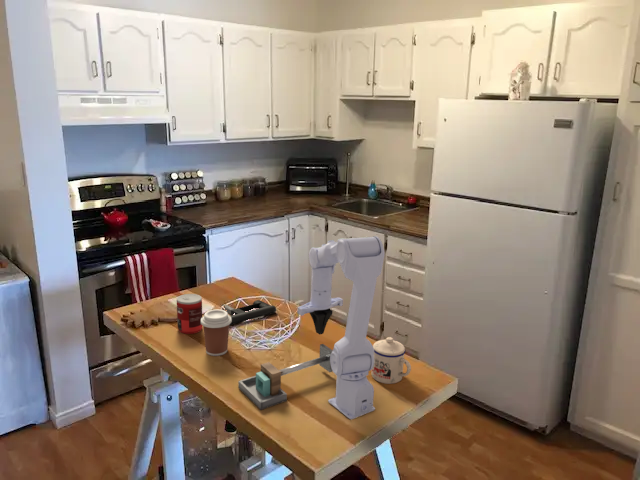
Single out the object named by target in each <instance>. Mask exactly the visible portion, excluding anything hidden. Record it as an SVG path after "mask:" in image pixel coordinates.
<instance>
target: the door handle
mask: <svg viewBox="0 0 640 480" xmlns="http://www.w3.org/2000/svg"><path fill="white" fill-rule="evenodd" d="M225 305H226V306H225ZM222 306H225V307H224V308H225V310H227V311H226V312H227V313H228V315H229V316H230V317H231V319H232V322H231V323H230V324H229V326H233V325H235V324H240V323H242V322H244V321H246V320H248V319H251V320H252V319H255V320H259V319H262V318H264V317H266V316H270V315H273V314H276V312H277V307H276V306H275V305H273V304H272V305H271V304H268V303H266V302H264V301H262V300H259V299H258V300H254V301H253V303H252V304H249V305H246V306H245V305H244V306H241V307H237V308H234V307H232V306H229V305H227V304H221V307H222ZM253 308H259V309H256V310H252V311H249V310H251V309H253ZM225 310H224V311H225ZM245 311H248V312H245ZM234 313H235V315H233V314H234ZM269 314H270V315H269ZM258 318H259V319H258ZM252 321H253V320H252Z"/></svg>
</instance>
